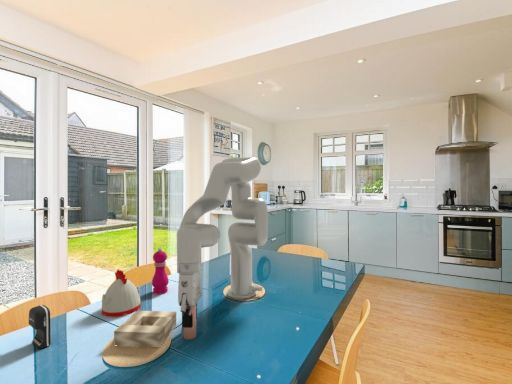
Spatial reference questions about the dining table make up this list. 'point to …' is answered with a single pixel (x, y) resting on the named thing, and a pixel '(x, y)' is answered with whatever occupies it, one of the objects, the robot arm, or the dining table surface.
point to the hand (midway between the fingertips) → (189, 322)
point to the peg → (191, 332)
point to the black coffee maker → (40, 325)
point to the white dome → (120, 297)
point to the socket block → (145, 329)
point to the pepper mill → (160, 273)
